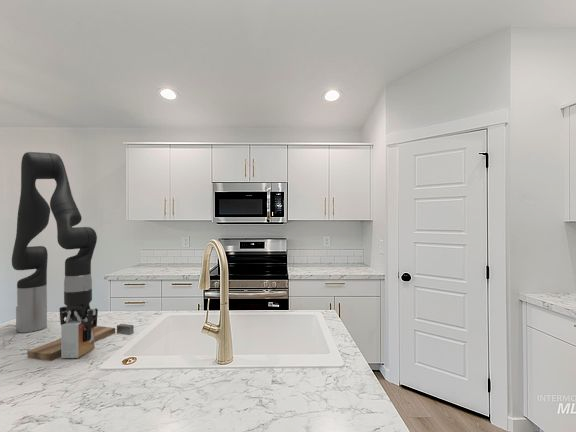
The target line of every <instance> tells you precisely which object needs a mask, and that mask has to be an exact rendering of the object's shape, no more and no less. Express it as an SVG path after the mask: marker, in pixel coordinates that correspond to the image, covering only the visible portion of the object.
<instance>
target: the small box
mask: <svg viewBox="0 0 576 432" xmlns="http://www.w3.org/2000/svg"><path fill="white" fill-rule="evenodd" d="M86 319H87V318H85V319H84V320H86ZM85 324H86V326H87V323H85ZM92 324H93V321H92ZM60 327H61V328H60V330H61V333H60V335H61V336H60V339H61V357H60V358H61V359H79V358H80V357H82V356H83V355H85V354H86V353H87V354H88V353H89V352H90V351H92V350H94V349H95V342H94V327H93V328H92V329H91V339H90V340H89V341H87V342H83V328H82V324H81V323H79V322H78V321H77V320H73V321H70V322H68V323H65V324H62V325H61V324H60Z"/></svg>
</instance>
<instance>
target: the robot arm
mask: <svg viewBox="0 0 576 432" xmlns="http://www.w3.org/2000/svg"><path fill="white" fill-rule="evenodd" d="M20 163H21V164H20V197H19V204H18V208H17V209H18V210H17V222H16V236H15V241H14V246H13V249H12V255H11V266H12V268H13V270H15V271H29V270H35V272H33V273H32V274H30V275H27V276H25V277H23V278H20V279H19V280H17V284H16V297H17V299H16V304H17V306H15V330H16V332H17V333H23V334H24V333H31V332H36V331H40V330H43V329H45V328H47V327H48V305H47V304H48V290H47V289H48V288H47V287H48V285H47V283H48V280H47V279H48V278H47V277H48V260H49V259H48V256H49V255H48V249H47V247H45V246H44V245H36V246H29V244H30V243H31V241H33V239H35V238H36V237H37V236H38V235H39V234H40V233H42V231H44V230H45V229H46V228H47V226H48V225H49V220H50V214H51V213H52V215H53V218H54V219H55V222H56V230H57V231H56V232H57V243H58V245H59V246H60V247H61V248H62V249H64V250H78V252H77V253H76V254H75V255H72V256H70V257H67V258H66V259H65V261H64V280H63V281H64V282H63V304H64V306H61V307H59V320H60V326H61V325H62V324H65V323H68V322H70V321H73V320H77V321H78V322H79V323H81V324H82V328H83V342H87V341H89V340H90V339H91V329H92V328H93V327H96V326H98V315H99V314H98V313H99V312H98V311H99V310H98V308H91V306H90V304H91V302H92V301H93V279H92V259H93V254H94V251H95V248H96V245H97V241H98V235H97V233H96V230H95V229H94V228H92V227H89V226H81V227H79V226H78V225H79V224H80V223H81V222H82V218H83V217H82V214H81V213H80V210H79V208H78V206H77V204H76V201H75V199H74V197H73V193H72V190H71V186H70V182H69V178H68V174H67V171H66V166H65V164H64V161H63V159H62V158H61V156H60V155H59V154H57V153H54V152H53V153H51V152H36V151H35V152H33V151H28V152H24V153H23V155H22V158H21V162H20ZM37 180H54V181H55V182H56V183H55V184H56V186H55V189H54V191H53V193H52V195H51V197H50V200H49V203H48V202H47V200H46V198H44V197H43V196H42V194H41V193H40V192H39V191H38V189H37V187H36V185H37V184H36V181H37ZM76 226H77V227H76ZM85 318H87V319H86V320H84V319H85ZM92 321H93V324H92ZM85 323H87V326H86V324H85Z"/></svg>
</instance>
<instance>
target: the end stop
mask: <svg viewBox="0 0 576 432" xmlns="http://www.w3.org/2000/svg"><path fill="white" fill-rule="evenodd" d="M134 328H135V327H134V325H133V324H127V323H119V324H117V325H116V334H117V335H118V334H119V335H126V336H130V335H132V334H134Z"/></svg>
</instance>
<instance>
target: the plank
mask: <svg viewBox="0 0 576 432" xmlns="http://www.w3.org/2000/svg"><path fill="white" fill-rule="evenodd" d="M114 334H116V327H111V326H110V327H109V326H104V325H103V326H100V325H97V326H96V327H94V343H95V342H98V341H102V339H105V338H107V337H110V336H112V335H114ZM26 354H27V356H26V357H27V358H29V359H35V360H42V361H46V362H47V361H48V362H52V361H54V360H56V359H59V358H61V338H58V339H55V340H53V341H50V342H47V343H44V344H42V345H40V346H37V347H35V348H32V349H30V350H27V353H26Z"/></svg>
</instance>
